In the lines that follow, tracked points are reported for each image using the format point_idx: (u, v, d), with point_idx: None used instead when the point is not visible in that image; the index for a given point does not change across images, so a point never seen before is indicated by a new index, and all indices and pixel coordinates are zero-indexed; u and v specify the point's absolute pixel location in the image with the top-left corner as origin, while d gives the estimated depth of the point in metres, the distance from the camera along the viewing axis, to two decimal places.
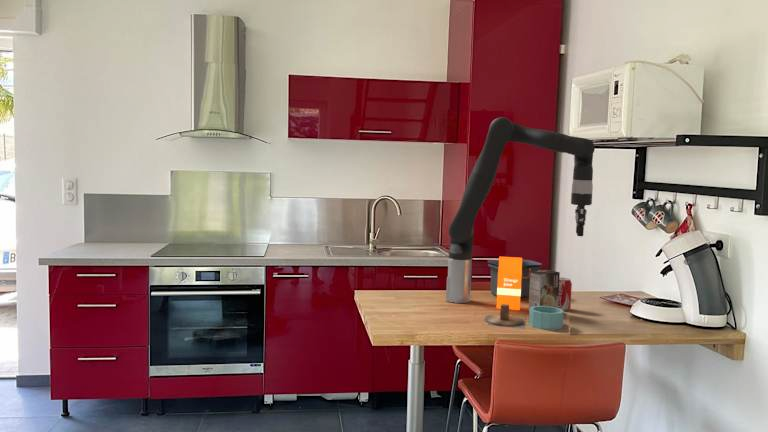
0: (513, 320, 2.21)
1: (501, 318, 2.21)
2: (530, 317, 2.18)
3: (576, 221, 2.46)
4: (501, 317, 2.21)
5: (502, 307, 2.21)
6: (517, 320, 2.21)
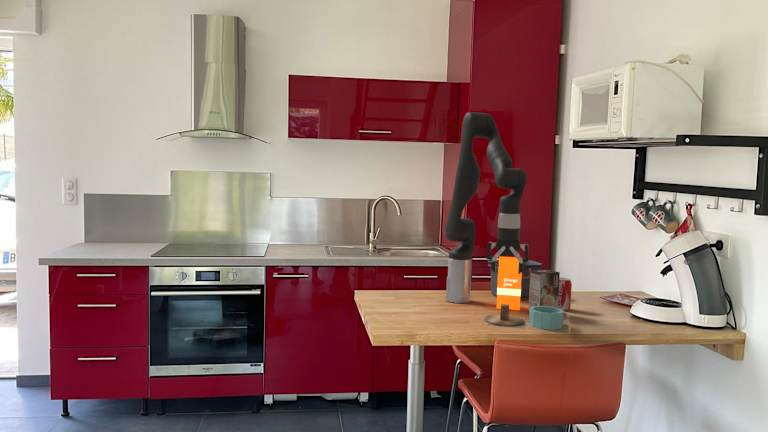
0: (513, 320, 2.21)
1: (501, 318, 2.21)
2: (530, 317, 2.18)
3: None
4: (501, 317, 2.21)
5: (502, 307, 2.21)
6: (517, 320, 2.21)
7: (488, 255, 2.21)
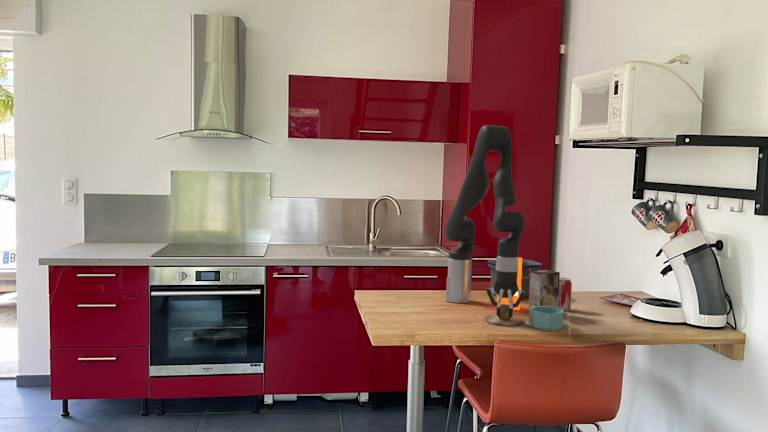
0: (513, 320, 2.21)
1: (501, 318, 2.21)
2: (530, 317, 2.18)
3: (500, 304, 2.21)
4: (501, 317, 2.21)
5: (502, 307, 2.21)
6: (517, 320, 2.21)
7: (493, 301, 2.22)
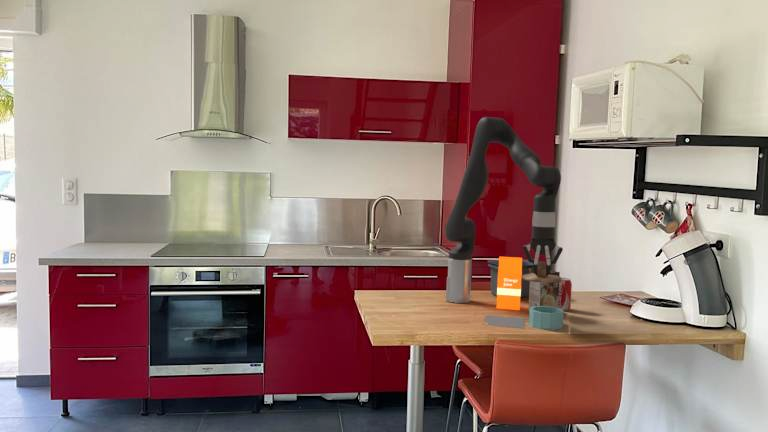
0: (551, 277, 2.16)
1: (538, 275, 2.16)
2: (530, 317, 2.18)
3: None
4: (538, 274, 2.16)
5: (539, 264, 2.16)
6: (555, 277, 2.16)
7: (530, 258, 2.17)
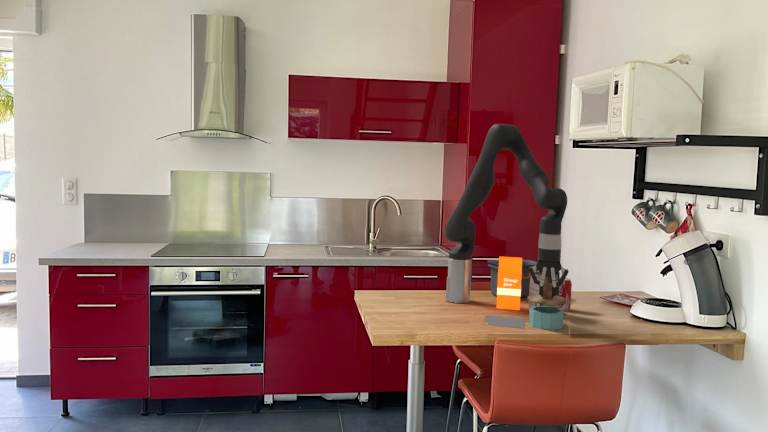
0: (556, 299, 2.17)
1: (544, 297, 2.17)
2: (530, 317, 2.18)
3: (543, 282, 2.17)
4: (544, 296, 2.17)
5: (545, 286, 2.17)
6: (560, 299, 2.17)
7: (536, 280, 2.18)
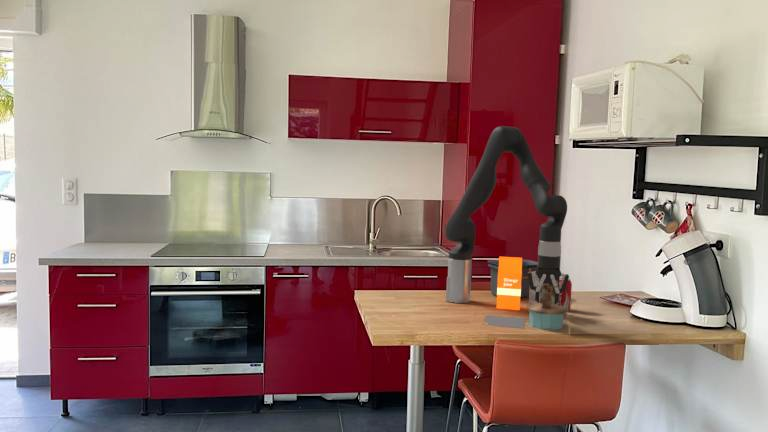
0: (555, 308, 2.17)
1: (543, 306, 2.18)
2: (530, 317, 2.18)
3: None
4: (543, 305, 2.17)
5: (544, 295, 2.17)
6: (559, 308, 2.17)
7: (532, 285, 2.18)
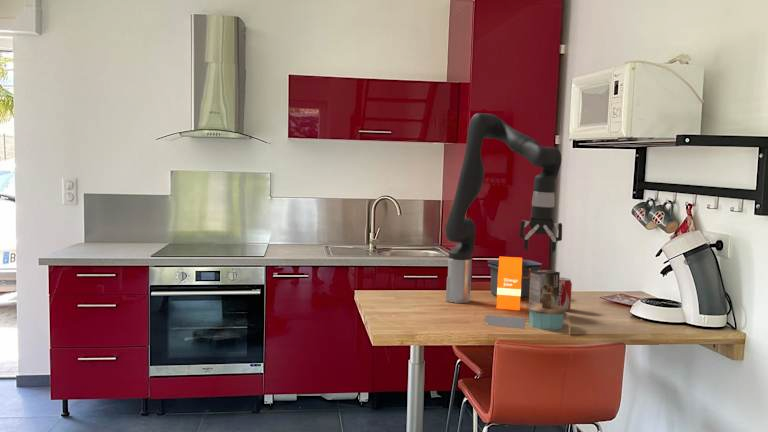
0: (555, 308, 2.17)
1: (543, 306, 2.18)
2: (530, 317, 2.18)
3: None
4: (543, 305, 2.17)
5: (544, 295, 2.17)
6: (559, 308, 2.17)
7: (521, 233, 2.22)
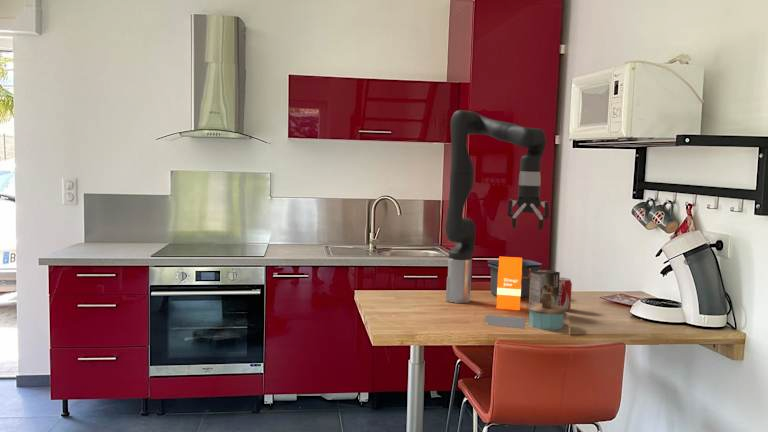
0: (555, 308, 2.17)
1: (543, 306, 2.18)
2: (530, 317, 2.18)
3: None
4: (543, 305, 2.17)
5: (544, 295, 2.17)
6: (559, 308, 2.17)
7: (509, 212, 2.29)
